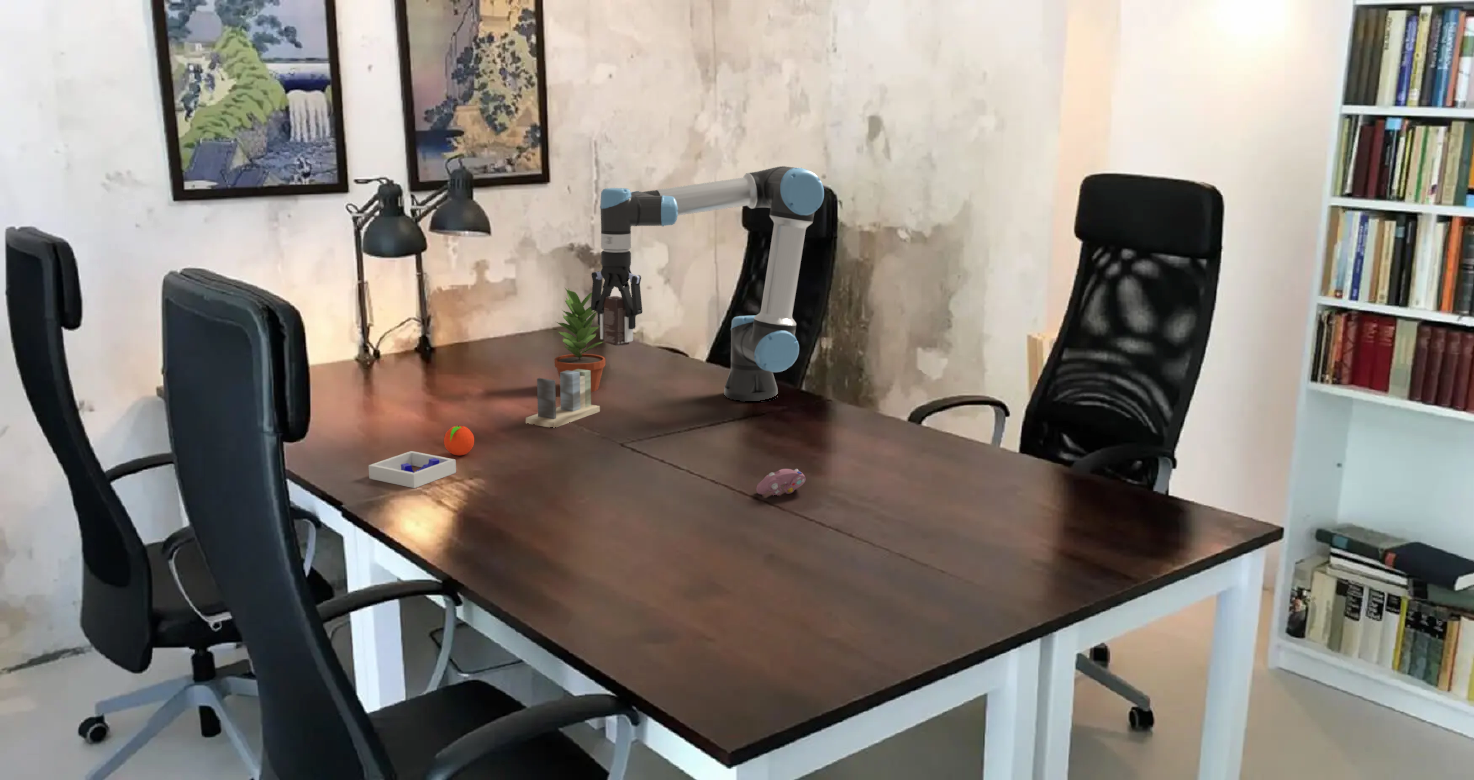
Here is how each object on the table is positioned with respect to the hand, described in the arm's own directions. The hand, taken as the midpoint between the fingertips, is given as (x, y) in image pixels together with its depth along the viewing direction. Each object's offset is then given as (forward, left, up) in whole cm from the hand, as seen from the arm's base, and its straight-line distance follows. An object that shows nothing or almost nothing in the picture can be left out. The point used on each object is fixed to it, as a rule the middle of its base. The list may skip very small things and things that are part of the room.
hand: (616, 339), depth 307 cm
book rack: (+13, +6, -21) cm, 25 cm away
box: (0, 0, -1) cm, 1 cm away
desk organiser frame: (+10, +64, -21) cm, 68 cm away
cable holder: (+8, +64, -22) cm, 68 cm away
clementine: (+12, +47, -21) cm, 53 cm away
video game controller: (-64, +33, -21) cm, 75 cm away
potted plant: (+29, -23, -21) cm, 43 cm away
